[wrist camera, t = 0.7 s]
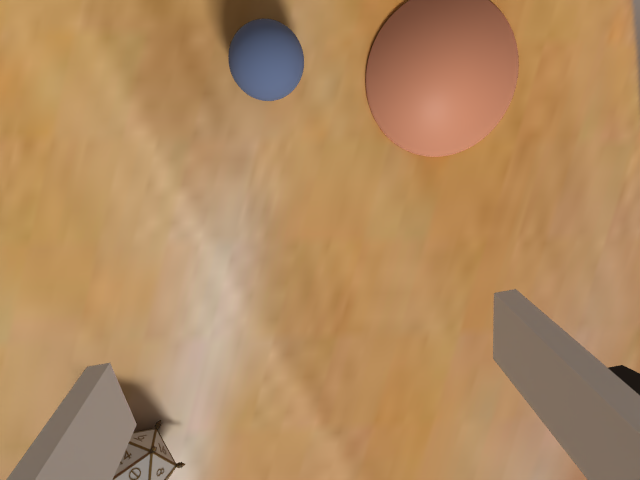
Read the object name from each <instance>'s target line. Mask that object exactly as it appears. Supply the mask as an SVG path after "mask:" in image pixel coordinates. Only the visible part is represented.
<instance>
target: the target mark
mask: <svg viewBox="0 0 640 480" xmlns="http://www.w3.org/2000/svg"><path fill="white" fill-rule="evenodd" d="M518 68H519V61H518V50H517V44H516V40H515V37H514V34H513V31H512V29H511V27H510V25H509V23H508V21H507V20H506V18H505V17H504V15H503V14H502V13H501V11H500V10H499V9H498V8H497V7H496V6H495V5H494V4H493V3H491V2H490V1H489V0H409V1H408V2H406V3H405V4H404V5H402V6H401V7H400V8H399V9H398V10H397V11H396V12H395V13H394V14H393V15H391V16H390V18H389V19H388V20H387V22H386V23H385V24H384V25H383V27H382V29H381V30H380V32H379V33H378V35H377V37H376V39H375V41H374V44H373V46H372V49H371V52H370V55H369V59H368V64H367V70H366V92H367V98H368V103H369V106H370V109H371V112H372V114H373V117H374V119H375V121H376V122H377V124H378V126H379V127H380V129H381V130H382V131H383V132H384V134H385V135H386V136H387V137H388V138H389V139H390V140H391V141H392V142H394V143H395V144H396V145H398V146H399V147H401V148H403V149H405V150H407V151H409V152H412V153H415V154H418V155H423V156H432V157H439V156H447V155H451V154H456V153H458V152H461V151H464V150H466V149H468V148H470V147H471V146H473V145H475V144H476V143H478V142H479V141H481V140H482V139H483V138H484V137H485V136H487V135H488V134H489V133H490V132H491V131H492V130H493V129H494V128H495V126H496V125H497V124H498V123H499V121H500V120H501V118H502V117H503V115H504V114H505V112H506V110H507V109H508V107H509V104H510V102H511V100H512V97H513V94H514V91H515V88H516V83H517V78H518Z"/></svg>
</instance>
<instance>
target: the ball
mask: <svg viewBox="0 0 640 480" xmlns="http://www.w3.org/2000/svg"><path fill="white" fill-rule="evenodd" d="M228 57H229V67H230V71H231V74H232V76H233V78H234V80H235V82H236V83H237V84H238V86H239V87H240V88H241V89H242V90H243V91H244V92H245V93H246V94H248V95H250V96H251V97H253V98H256V99H259V100H263V101H274V100H278V99H281V98H283V97H285V96H287V95H288V94H289V93H291V92H292V91H293V90H294V89H295V87H296V86H297V85H298V83H299V81H300V79H301V77H302V73H303V68H304V56H303V51H302V48H301V45H300V43H299V40H298V39H297V37H296V36H295V34H294V33H293V32H292V31H291V30H290V29H289V28H288V27H287V26H285V25H284V24H282V23H280V22H278V21H275V20H272V19H257V20H253V21H251V22H248V23H247V24H245V25H244V26H242V27H241V28H240V29H239V30H238V31H237V33H236V34H235V36H234V37H233V39H232V42H231V44H230V48H229V56H228Z"/></svg>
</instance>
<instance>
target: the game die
mask: <svg viewBox="0 0 640 480" xmlns="http://www.w3.org/2000/svg"><path fill="white" fill-rule="evenodd" d="M160 425H161V420H160V421H159V422H157V423H156V425H155V428H154V429H148V430H143V431H137V432H133V434H132V436H131V439H130V441H129V443H128V446H127V448H126V450H125V452H124V455H123V457H122V459H121V461H120V464H119V466H118V468H117V470H116V473H115V475H114V477H113V480H168V479H169V477H170V476H171V474H172V473H173V471H174V470H175V468H176V467H178V468H181V467H183V466H184V465H185V464H184V463H182V462H181V463H177V464H176V463H175V461H174V459H173V457H172V455H171V454H170V452H169V450H168V448H167V446H166V445H165V443H164V441H163V439H162V437H161V435H160V434H159V432H158V430H157V429H158V428H159V427H160Z"/></svg>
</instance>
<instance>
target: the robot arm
mask: <svg viewBox="0 0 640 480" xmlns="http://www.w3.org/2000/svg"><path fill="white" fill-rule="evenodd" d="M493 359H494V360H495V361H496V363H497V364H498V365H499V367H500V368H501V369H502V370H503V372H504V373H505V374H506V376H507V377H508V378H509V379H510V381H511V382H512V383H513V384H514V386H515V387H516V388H517V390H518V391H519V392H520V393H521V395H522V396H523V397H524V399H525V400H526V401H527V402H528V404H529V405H530V406H531V408H532V409H533V410H534V411H535V413H536V414H537V415H538V417H539V418H540V419H541V420H542V422H543V423H544V424H545V425H546V427H547V428H548V429H549V431H550V432H551V433H552V434H553V436H554V437H555V438H556V440H557V441H558V442H559V443H560V445H561V446H562V447H563V449H564V450H565V451H566V452H567V454H568V455H569V456H570V458H571V459H572V460H573V461H574V463H575V464H576V465H577V466H578V468H579V469H580V470H581V472H582V473H583V474H584V475H585V477H586V478H587V479H588V480H640V374H639V373H637V372H635V371H633V370H631V369H629V368H627V367H625V366H623V365H620V366H615V367H610V368H607V367H606V366H605V365H604V364H602V363H601V362H600V361H599V360H598V359H597V358H595V357H594V356H593V355H592V354H591V353H590V352H588V351H587V350H586V349H585V348H584V347H583V346H581V345H580V344H579V343H578V342H577V341H576V340H574V339H573V338H572V337H571V336H570V335H569V334H567V333H566V332H565V331H564V330H563V329H562V328H560V327H559V326H558V325H557V324H556V323H555V322H553V321H552V320H551V319H550V318H549V317H548V316H546V315H545V314H544V313H543V312H542V311H541V310H539V309H538V308H537V307H536V306H535V305H534V304H532V303H531V302H530V301H529V300H528V299H527V298H525V297H524V296H523V295H522V294H521V293H520V292H518V291H517V290H516V289H514V290H509V291H503V292H498V293H494V330H493ZM136 425H137V424H136V421H135V419H134V417H133V415H132V412H131V410H130V408H129V405H128V403H127V401H126V398H125V396H124V394H123V392H122V389H121V387H120V385H119V382H118V380H117V378H116V375H115V373H114V371H113V369H112V366H111V364H110V363H106V364H100V365H95V366H89V367H87V368H86V369H85V370H84V372H83V373H82V375H81V376H80V377H79V379H78V380H77V382H76V383H75V384H74V386H73V387H72V389H71V390H70V391H69V393H68V394H67V396H66V397H65V398H64V400H63V401H62V403H61V404H60V405H59V407H58V408H57V410H56V411H55V412H54V414H53V415H52V417H51V418H50V419H49V421H48V422H47V424H46V425H45V426H44V428H43V429H42V431H41V432H40V433H39V435H38V436H37V438H36V439H35V440H34V442H33V443H32V445H31V446H30V447H29V449H28V450H27V452H26V453H25V454H24V456H23V457H22V459H21V460H20V461H19V463H18V464H17V466H16V467H15V468H14V470H13V471H12V473H11V474H10V475H9V477H8V478H7V480H113V477H114V475H115V473H116V470H117V468H118V466H119V464H120V461H121V459H122V457H123V455H124V452H125V450H126V448H127V446H128V443H129V441H130V439H131V436H132V434H133V432H134V430H135V427H136Z"/></svg>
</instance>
